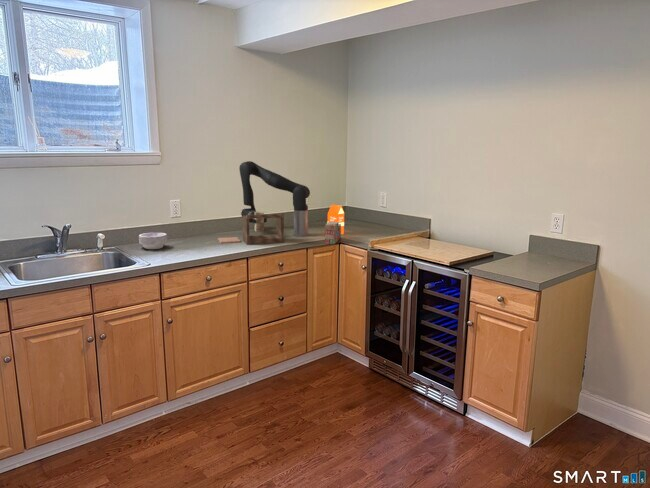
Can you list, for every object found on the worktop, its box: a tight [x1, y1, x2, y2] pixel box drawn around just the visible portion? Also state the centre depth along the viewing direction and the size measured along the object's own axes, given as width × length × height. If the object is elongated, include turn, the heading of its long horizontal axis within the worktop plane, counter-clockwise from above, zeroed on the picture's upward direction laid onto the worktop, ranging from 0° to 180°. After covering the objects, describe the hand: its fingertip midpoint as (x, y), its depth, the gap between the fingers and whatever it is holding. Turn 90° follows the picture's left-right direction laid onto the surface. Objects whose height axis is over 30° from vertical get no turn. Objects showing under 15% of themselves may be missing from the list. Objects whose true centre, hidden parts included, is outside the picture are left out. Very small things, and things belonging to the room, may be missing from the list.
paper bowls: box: [138, 232, 168, 250], centre depth 280 cm, size 15×15×8 cm
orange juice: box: [326, 204, 345, 235], centre depth 333 cm, size 8×9×20 cm
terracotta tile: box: [217, 236, 241, 244], centre depth 304 cm, size 12×12×1 cm
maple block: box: [253, 211, 265, 233], centre depth 312 cm, size 5×5×12 cm
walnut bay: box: [242, 213, 285, 246], centre depth 302 cm, size 23×12×18 cm, turn 111°
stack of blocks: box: [324, 221, 342, 245], centre depth 312 cm, size 21×6×12 cm, turn 167°
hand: (260, 221), depth 309 cm, fingers closed on maple block, 5 cm apart
